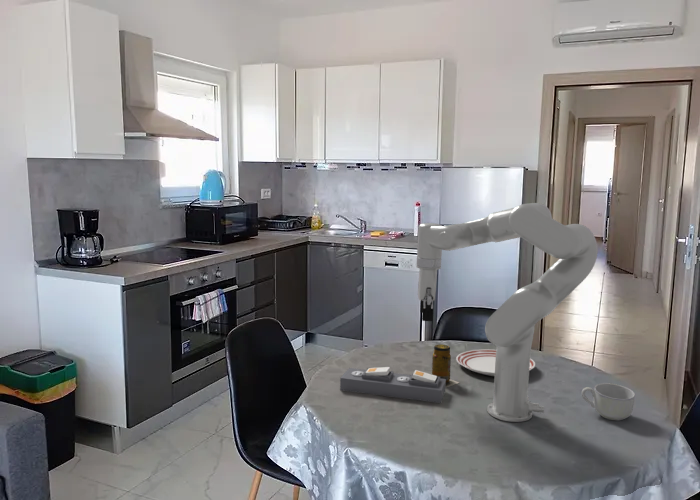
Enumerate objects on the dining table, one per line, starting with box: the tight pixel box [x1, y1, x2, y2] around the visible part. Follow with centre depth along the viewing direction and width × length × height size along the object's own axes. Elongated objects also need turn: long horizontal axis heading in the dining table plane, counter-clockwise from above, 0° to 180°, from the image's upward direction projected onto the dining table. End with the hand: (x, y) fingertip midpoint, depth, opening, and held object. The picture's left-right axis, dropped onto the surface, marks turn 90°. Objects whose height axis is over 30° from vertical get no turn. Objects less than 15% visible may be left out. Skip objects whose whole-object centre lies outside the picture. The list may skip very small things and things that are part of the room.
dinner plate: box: [455, 348, 536, 377], centre depth 207 cm, size 27×27×3 cm
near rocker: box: [412, 369, 437, 383], centre depth 180 cm, size 7×4×1 cm, turn 73°
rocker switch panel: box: [339, 367, 447, 404], centre depth 183 cm, size 32×10×5 cm, turn 73°
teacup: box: [581, 382, 636, 421], centre depth 167 cm, size 14×11×8 cm
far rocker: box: [366, 366, 391, 376], centre depth 184 cm, size 7×4×1 cm, turn 73°
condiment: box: [431, 343, 460, 388], centre depth 191 cm, size 7×8×12 cm
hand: (426, 316), depth 182 cm, fingers open, 9 cm apart
